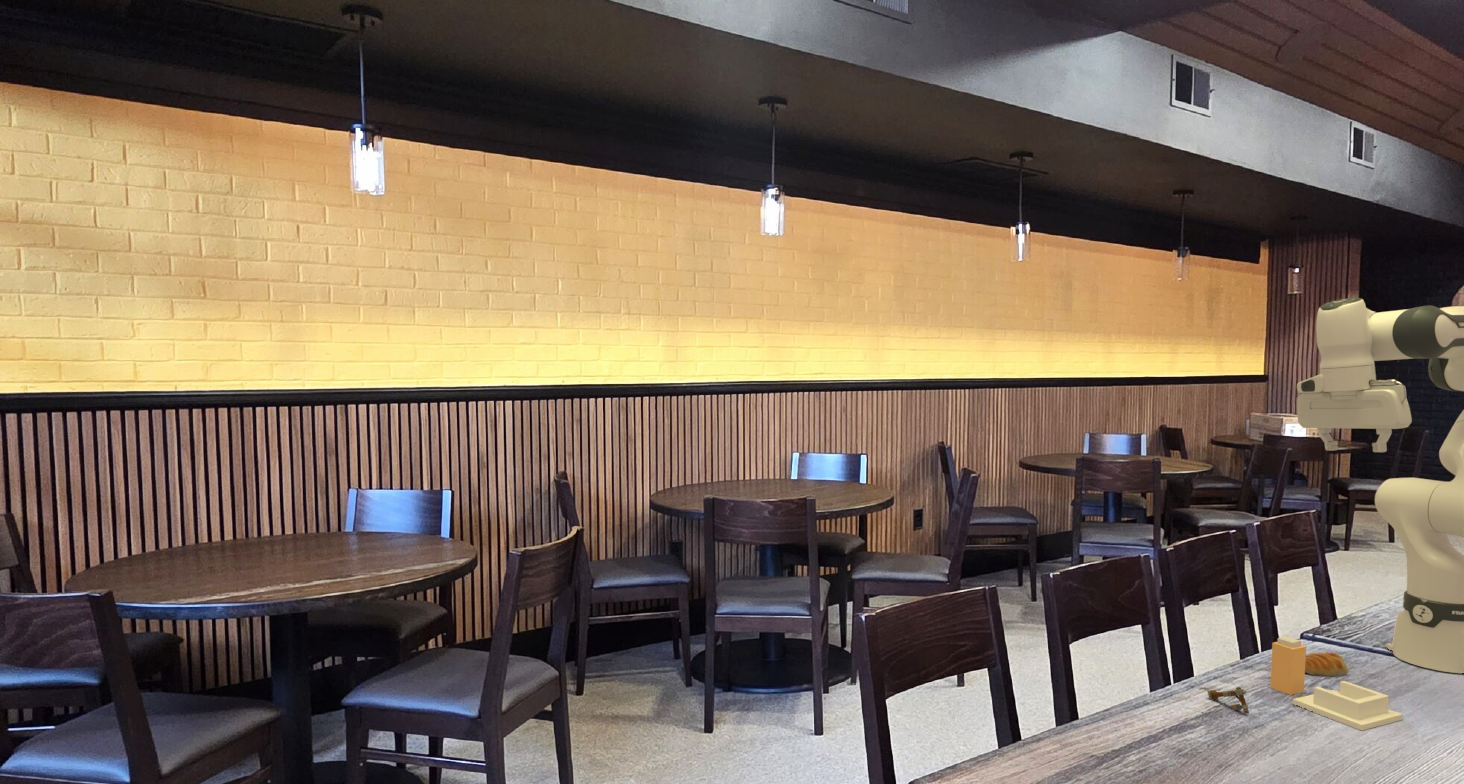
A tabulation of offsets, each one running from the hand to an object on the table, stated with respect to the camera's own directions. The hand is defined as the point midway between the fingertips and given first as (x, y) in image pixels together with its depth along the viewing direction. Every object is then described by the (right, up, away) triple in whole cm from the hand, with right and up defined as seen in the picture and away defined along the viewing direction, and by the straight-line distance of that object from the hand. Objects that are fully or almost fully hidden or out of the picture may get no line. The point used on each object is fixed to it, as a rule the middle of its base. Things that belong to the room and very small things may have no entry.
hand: (1355, 451), depth 169 cm
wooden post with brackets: (-30, -47, -10) cm, 57 cm away
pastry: (0, -47, +9) cm, 48 cm away
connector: (-14, -47, -1) cm, 49 cm away
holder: (-10, -47, -11) cm, 49 cm away
